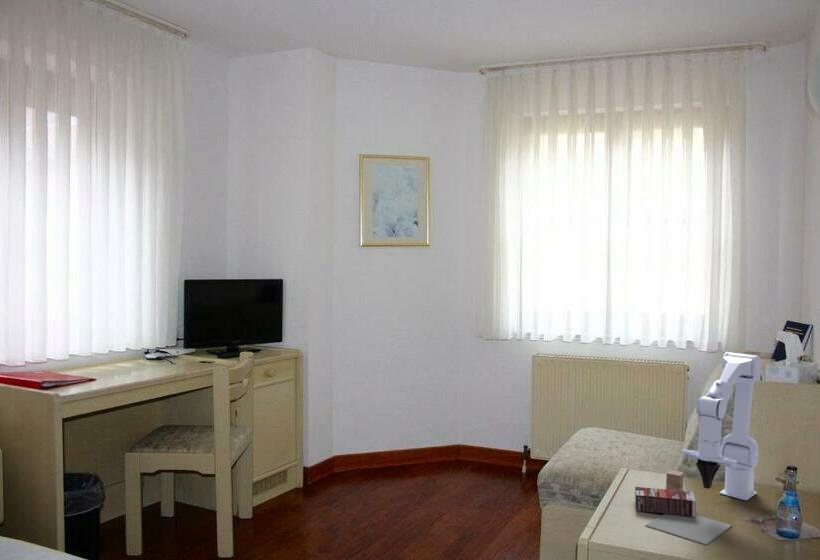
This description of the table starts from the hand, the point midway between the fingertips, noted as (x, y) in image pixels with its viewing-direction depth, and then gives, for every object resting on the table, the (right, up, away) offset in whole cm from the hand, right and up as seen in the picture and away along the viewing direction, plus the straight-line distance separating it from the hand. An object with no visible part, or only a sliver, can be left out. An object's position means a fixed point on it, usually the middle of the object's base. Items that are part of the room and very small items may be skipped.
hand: (707, 487), depth 192 cm
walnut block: (-3, -7, +16) cm, 18 cm away
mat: (-9, -8, -8) cm, 14 cm away
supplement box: (-3, -5, +1) cm, 6 cm away
